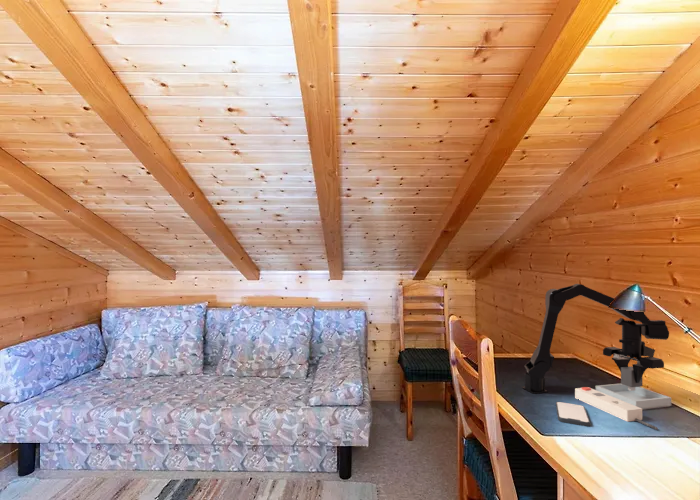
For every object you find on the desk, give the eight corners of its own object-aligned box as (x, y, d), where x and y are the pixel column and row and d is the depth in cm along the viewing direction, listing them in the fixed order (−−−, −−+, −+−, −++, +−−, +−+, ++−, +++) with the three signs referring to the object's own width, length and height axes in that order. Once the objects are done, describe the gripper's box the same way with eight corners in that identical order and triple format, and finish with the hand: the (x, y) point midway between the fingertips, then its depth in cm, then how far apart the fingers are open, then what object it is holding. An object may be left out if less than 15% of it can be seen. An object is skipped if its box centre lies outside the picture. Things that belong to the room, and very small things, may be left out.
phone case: (555, 405, 132) (557, 422, 118) (555, 400, 132) (557, 417, 118) (584, 410, 128) (591, 428, 114) (584, 405, 128) (591, 423, 114)
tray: (636, 410, 127) (636, 401, 127) (595, 393, 142) (595, 385, 142) (671, 406, 130) (671, 397, 130) (628, 390, 145) (628, 382, 146)
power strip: (665, 429, 113) (665, 415, 113) (649, 431, 111) (649, 417, 111) (588, 396, 139) (588, 385, 139) (575, 398, 137) (575, 386, 137)
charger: (642, 391, 135) (642, 369, 135) (631, 392, 134) (631, 370, 134) (631, 387, 139) (631, 366, 139) (620, 388, 137) (620, 367, 138)
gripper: (676, 342, 129) (676, 388, 129) (624, 331, 147) (624, 371, 147) (651, 344, 127) (651, 390, 126) (601, 332, 145) (601, 373, 144)
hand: (631, 380), depth 136 cm, fingers closed on charger, 4 cm apart
